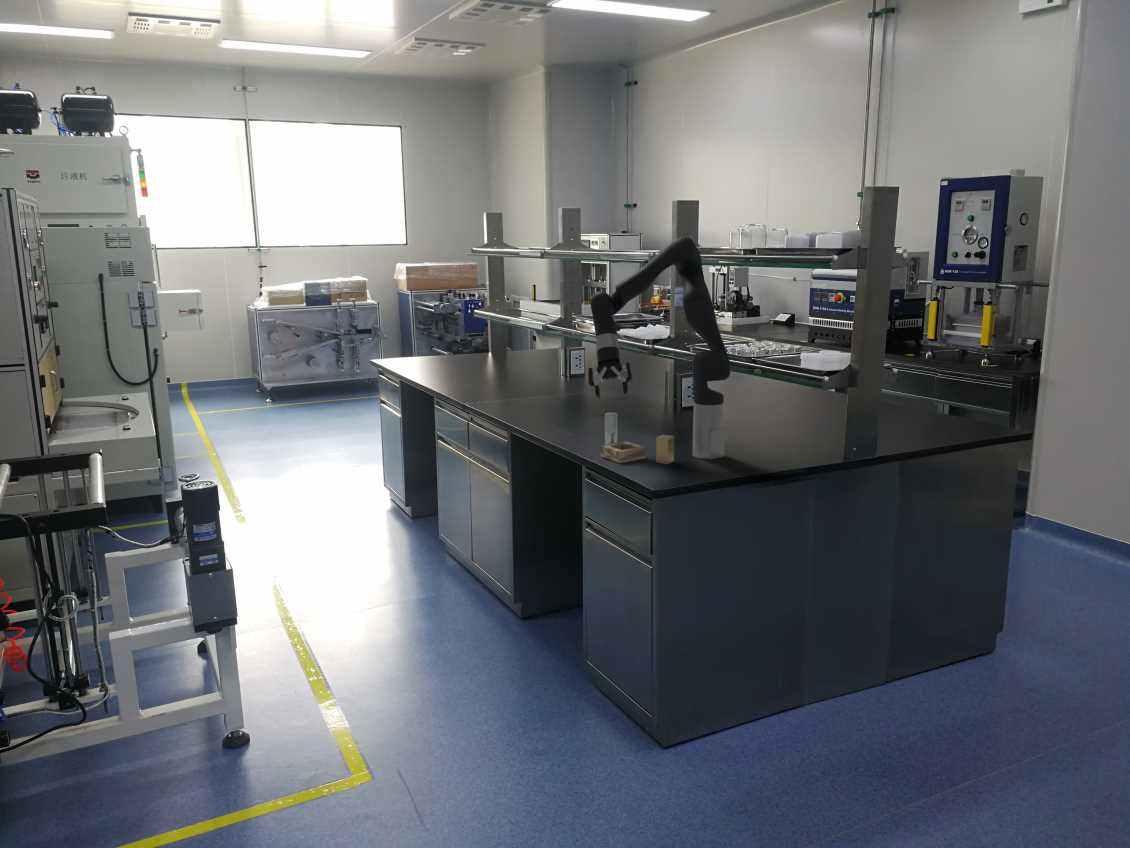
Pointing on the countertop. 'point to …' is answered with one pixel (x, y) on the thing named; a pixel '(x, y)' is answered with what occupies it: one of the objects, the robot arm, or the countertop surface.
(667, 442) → the yellow brown rectangular block
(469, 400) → the countertop surface
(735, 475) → the countertop surface
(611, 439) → the cylinder
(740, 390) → the countertop surface
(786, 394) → the countertop surface
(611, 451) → the socket block
